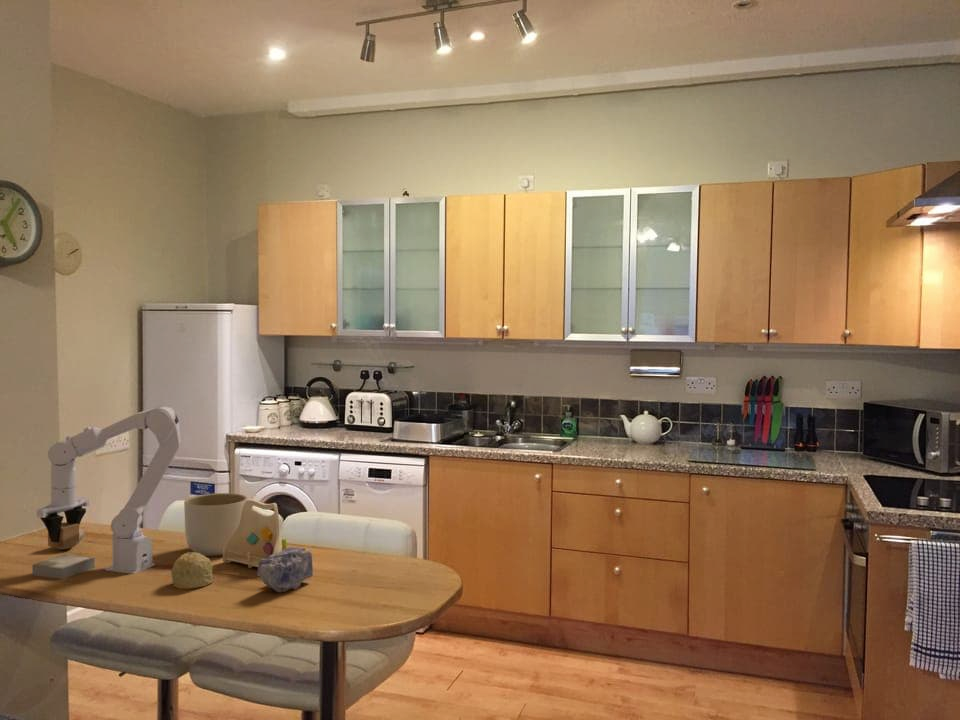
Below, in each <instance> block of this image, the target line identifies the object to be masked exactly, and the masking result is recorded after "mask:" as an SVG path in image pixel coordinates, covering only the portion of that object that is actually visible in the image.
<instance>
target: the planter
mask: <svg viewBox="0 0 960 720" xmlns="http://www.w3.org/2000/svg"><path fill="white" fill-rule="evenodd" d="M247 500H248V497H247V496H245V495H244V494H241V493H233V492H231V493H230V492H229V493H227V492H224V493H221V492H217V493H208V494H207V493H206V494H205V493H204V494H200V495H195V496H192V497H188V498H186V499H185V500H184V501H183V502H184V509H183V510H184V511H183V512H184V533H185V540H186V544H187V546H188V548H189V549H190V550H191V552H195V553H200V554H202V555H204V556H205V557H219V556H223V551H224V547H225V544H226V542H227V541H228V539H229V538H230V537H231V536H232V535H233V533H234V532H235V531H236V529H237V528H238V525H239V523H240V519H241V513H242V509H243V506H244V504H245V502H246V501H247Z"/></svg>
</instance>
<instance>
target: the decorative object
mask: <svg viewBox="0 0 960 720" xmlns="http://www.w3.org/2000/svg"><path fill="white" fill-rule="evenodd" d="M170 574H171V579H172V584H173V587H174V588H176V589H180V590H188V589H189V590H190V589H196V588H197V589H198V588H201V587H205V586H208V585H209V584H211V583H213V582H214V581H213V577H214V576H213V566H212V561H211V560H210V558H209V557H208V556H204V555H202V554H200V553H195V552H194V551H189V552H185V553H183V554H182V555H180V556H179V557H178V558H177V559H176V560H175V562H174V563H173V566H172V568H171V573H170Z"/></svg>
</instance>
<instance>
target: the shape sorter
mask: <svg viewBox="0 0 960 720" xmlns="http://www.w3.org/2000/svg"><path fill="white" fill-rule="evenodd" d="M253 506H254V507H257V508H259V509H261V510H265V511H266V510H268V511H269V510H273V514H270V515H269V514H266V513H265V514H264V513H263V512H261V511H259V510H257V509H256V508H254V507H253ZM281 533H282V532H281V524H280V515H279V508H278V504H277V503H276V502H272V503H264V502H261V501H258V500H256V499H247V501H246V502H245V504H244V506H243V509H242V513H241V519H240V523H239V525H238V528H237V529H236V531H235V532H234V533H233V535H232V536H231V537H230V538H229V539H228V541H227V542H226V544H225V547H224V551H223V555H222V562H223V564H227V563H233V562H235V563H239V564H244V565H247V567H248V569H252V568H254V567H256V568H258V567H259V565H258V564H259V561H260V560H261V559H267V558H268V557H269V556H271V555H274V554H277V553H279V552H281V551H283V550H285V549H286V548H288V547H287V541H286V538H282V534H281Z"/></svg>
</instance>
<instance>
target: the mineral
mask: <svg viewBox="0 0 960 720" xmlns="http://www.w3.org/2000/svg"><path fill="white" fill-rule="evenodd" d="M258 565H259V567H257V573H256V574H257V576H259V577H260V580H261V582H262V583H263V584H265V585H266V586H268V587H269V588H270V589H273V590H274V591H275V592H277V593H282V592H283V593H284V592H287V591H289V590H297V589H299V588H300V586H301V584H302V582H304V581H306V580H307V579H311V578H313V576H314V570H313V555H312V552H311V550H306V549H305V547H298V546H297V547H296V546H289V547H287V548H286V549H285V550H283V551H281V552H279V553H277V554H274V555H271V556H269V557H268V558H267V559H261V560H260V561H259V564H258Z"/></svg>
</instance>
